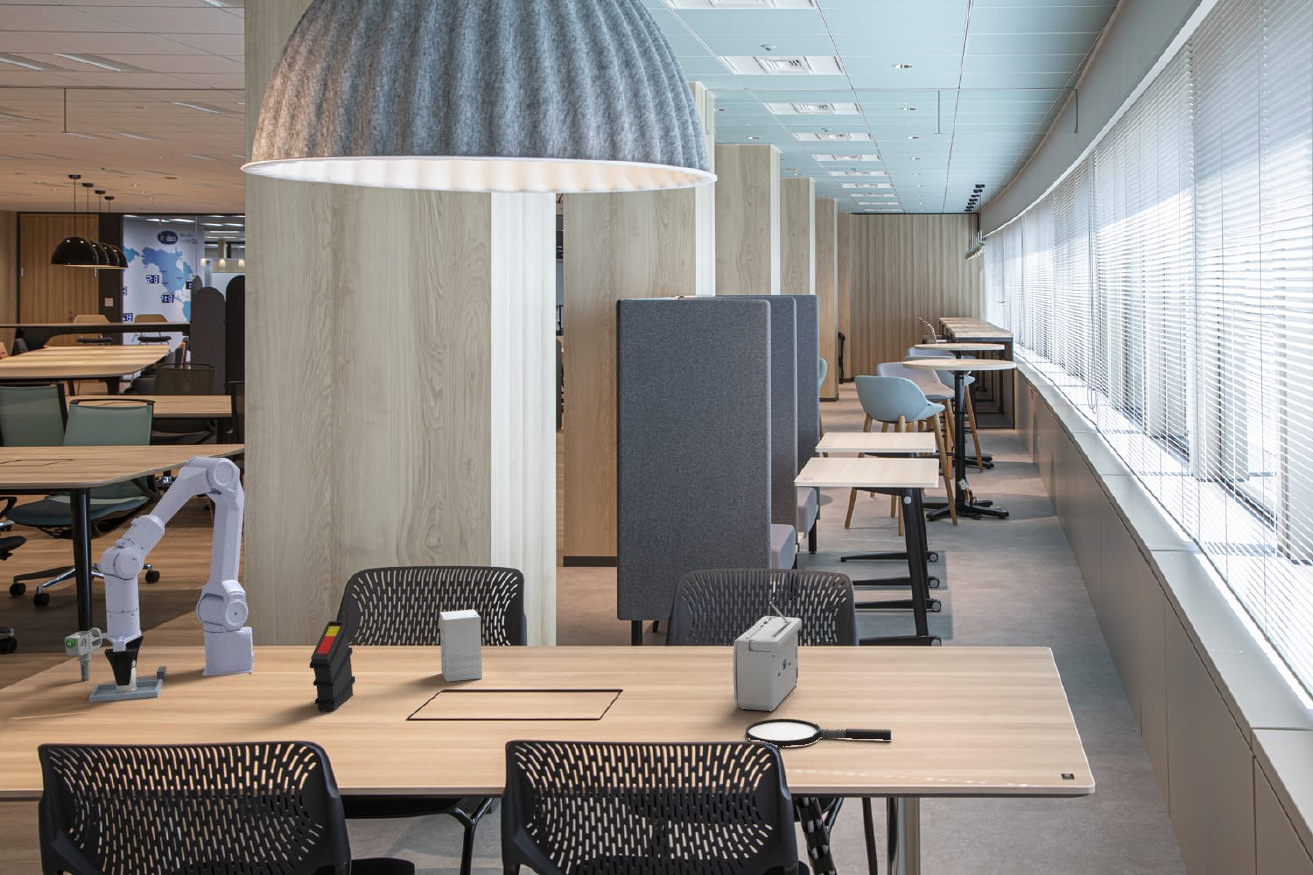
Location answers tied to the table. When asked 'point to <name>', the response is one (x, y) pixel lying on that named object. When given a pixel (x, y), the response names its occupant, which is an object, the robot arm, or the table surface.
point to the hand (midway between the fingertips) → (126, 680)
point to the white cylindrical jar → (131, 686)
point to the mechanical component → (83, 648)
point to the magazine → (333, 667)
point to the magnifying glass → (805, 732)
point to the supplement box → (460, 645)
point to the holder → (160, 675)
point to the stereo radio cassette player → (766, 662)
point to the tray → (109, 693)
